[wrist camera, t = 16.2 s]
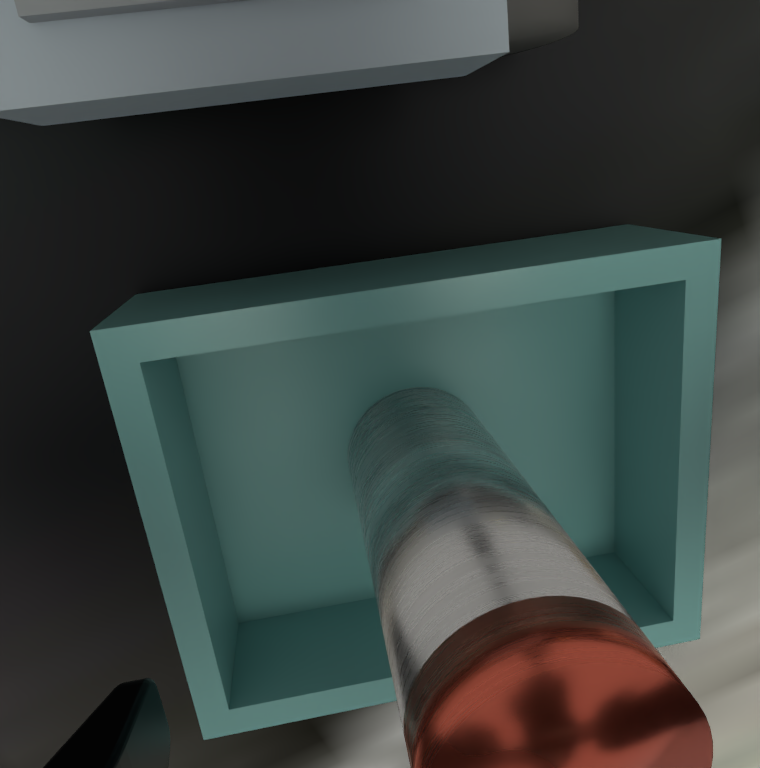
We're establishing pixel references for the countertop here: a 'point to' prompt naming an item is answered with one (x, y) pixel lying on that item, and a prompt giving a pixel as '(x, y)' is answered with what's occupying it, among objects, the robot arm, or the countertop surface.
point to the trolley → (246, 49)
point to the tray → (370, 384)
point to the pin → (501, 610)
